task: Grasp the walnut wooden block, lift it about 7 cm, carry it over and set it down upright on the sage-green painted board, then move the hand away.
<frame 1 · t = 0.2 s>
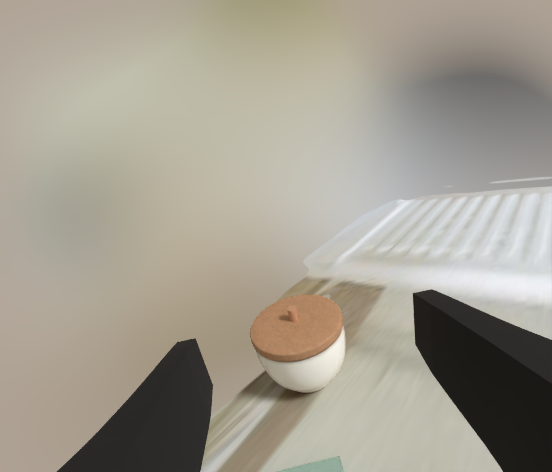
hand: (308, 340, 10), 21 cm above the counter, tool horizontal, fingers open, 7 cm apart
lidded jar: (309, 373, 36), on the counter
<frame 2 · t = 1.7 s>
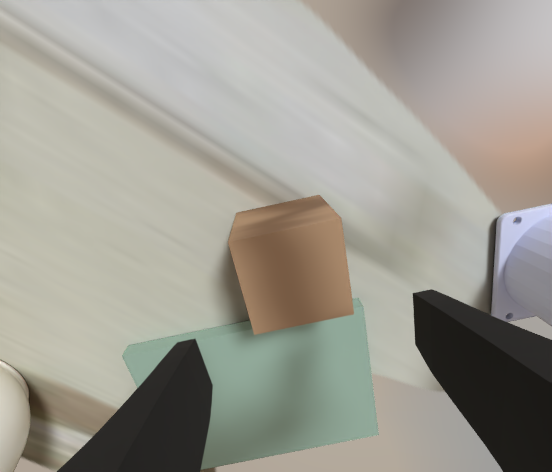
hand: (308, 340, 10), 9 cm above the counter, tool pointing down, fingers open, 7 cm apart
sage board: (261, 387, 22), on the counter
walnut block: (285, 241, 18), on the counter
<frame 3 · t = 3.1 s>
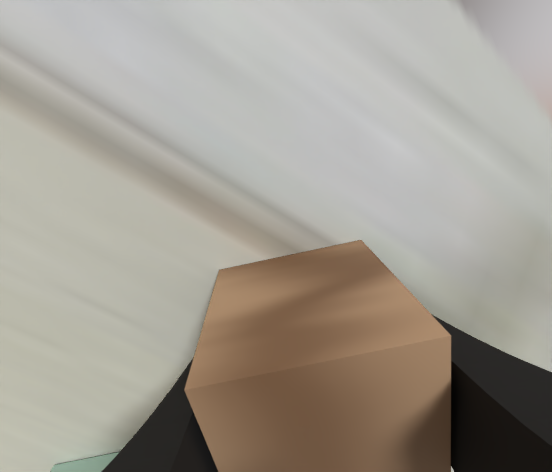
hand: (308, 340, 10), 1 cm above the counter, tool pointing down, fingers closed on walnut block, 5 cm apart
walnut block: (302, 314, 11), on the counter, touching gripper
when the fingers open (4 cm above the counter, at t = 8.0 s): walnut block drops 1 cm, resting on sage board.
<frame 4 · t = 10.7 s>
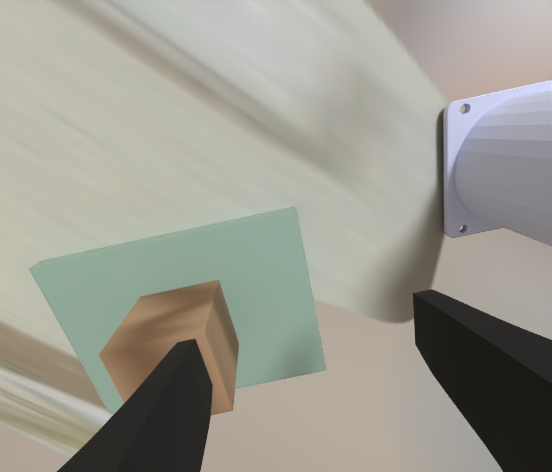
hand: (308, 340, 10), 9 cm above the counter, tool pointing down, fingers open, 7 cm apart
sage board: (195, 315, 20), on the counter
walnut block: (191, 321, 19), point 1 cm above the counter, touching sage board
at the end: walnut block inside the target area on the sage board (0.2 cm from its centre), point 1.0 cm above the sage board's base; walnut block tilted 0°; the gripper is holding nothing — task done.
